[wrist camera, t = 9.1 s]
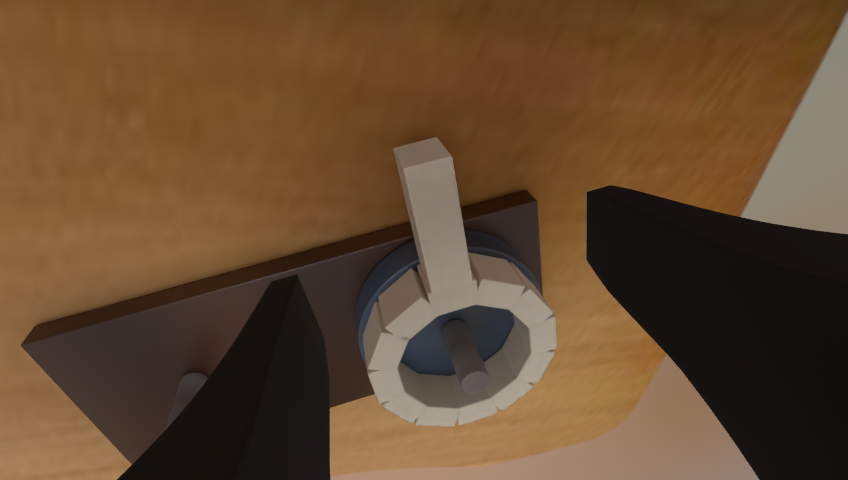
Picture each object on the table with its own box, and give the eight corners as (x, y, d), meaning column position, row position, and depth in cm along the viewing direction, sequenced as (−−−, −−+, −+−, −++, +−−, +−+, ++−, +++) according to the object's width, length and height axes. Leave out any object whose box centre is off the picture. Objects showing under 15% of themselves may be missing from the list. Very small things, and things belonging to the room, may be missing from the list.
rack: (141, 447, 24) (97, 575, 19) (34, 325, 19) (-64, 452, 14) (536, 327, 26) (592, 414, 21) (526, 189, 21) (595, 258, 16)
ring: (388, 411, 22) (394, 447, 21) (301, 171, 15) (300, 196, 14) (541, 363, 23) (559, 394, 21) (523, 113, 16) (548, 129, 14)
